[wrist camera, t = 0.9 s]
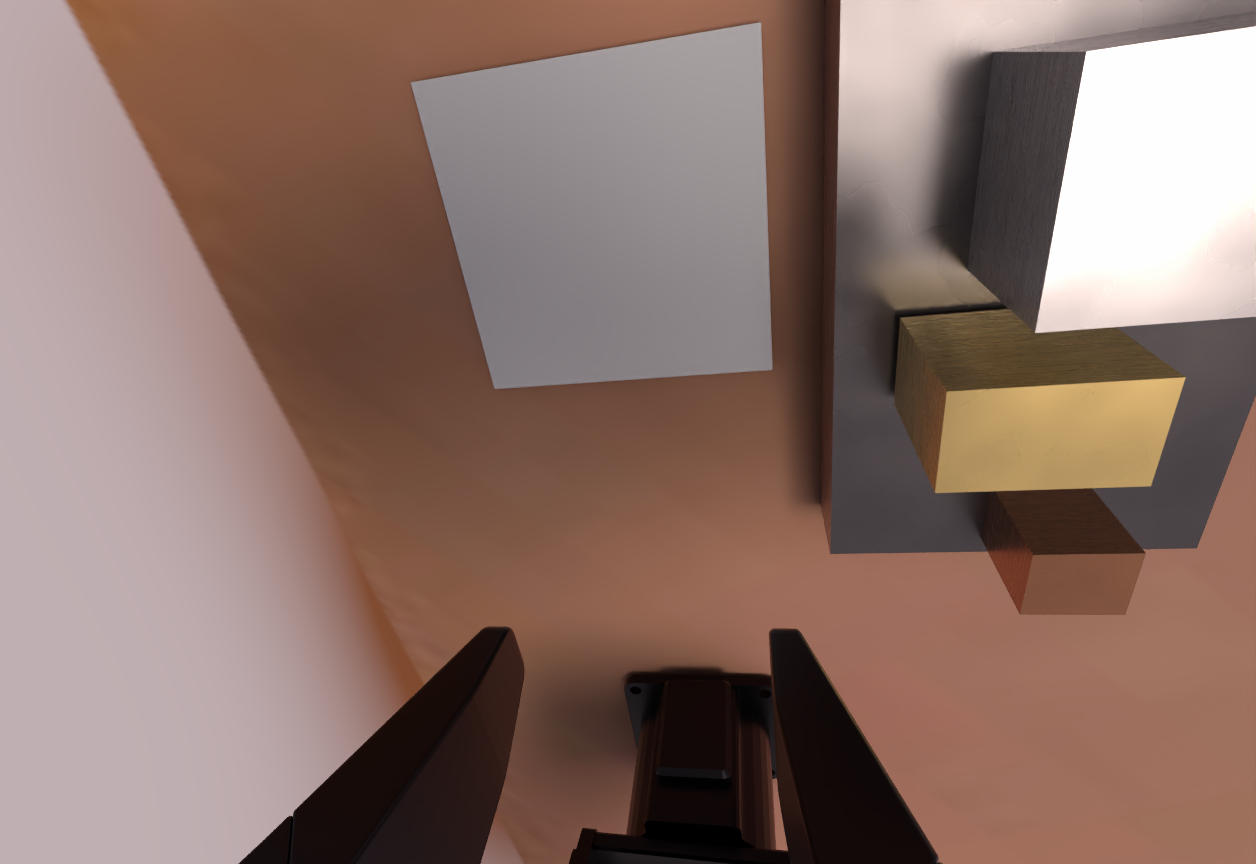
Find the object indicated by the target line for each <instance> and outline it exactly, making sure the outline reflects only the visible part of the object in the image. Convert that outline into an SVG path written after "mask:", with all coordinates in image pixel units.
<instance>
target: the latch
mask: <svg viewBox="0 0 1256 864" xmlns="http://www.w3.org/2000/svg"><path fill="white" fill-rule="evenodd" d="M1185 378H1186V377H1185V376H1183V375H1182V374H1180V373H1179V372H1178V371H1176V370H1175V369H1173V368H1172V367H1171V366H1169V365H1168V364H1166V363H1165V362H1164V361H1162V360H1161V359H1160V358H1158V357H1157V356H1155V355H1154V354H1153V353H1151V352H1150V351H1148V350H1147V349H1146V348H1144V347H1143V346H1141V345H1140V344H1139V343H1137V342H1136V341H1134V340H1133V339H1132V338H1130V337H1129V336H1127V335H1126V334H1125V333H1123V332H1122V331H1121V330H1119V329H1118V328H1116V327H1110V328H1097V329H1083V330H1070V331H1056V332H1043V333H1034V332H1033V331H1032V330H1031V329H1030V328H1029V327H1028V326H1027V325H1026V324H1025V323H1024V322H1023V321H1022V320H1020V319H1019V318H1018V317H1017V316H1016V315H1015V314H1014V313H1013V312H1012V311H1011V310H1010V309H1000V310H988V311H976V312H963V313H951V314H939V315H927V316H914V317H902V318H900V326H899V340H898V354H897V368H896V382H895V396H894V405H895V407H896V409H897V412H898V414H899V416H900V418H901V420H902V422H903V425H904V427H905V429H906V431H907V433H908V435H909V438H910V440H911V442H912V444H913V446H914V449H915V451H916V453H917V455H918V457H919V459H920V462H921V464H922V466H923V468H924V470H925V472H926V475H927V477H928V479H929V481H930V483H931V486H932V488H933V490H934V492H935V493H955V492H987V491H1018V490H1050V489H1081V488H1113V487H1145V486H1151V485H1152V481H1153V478H1154V475H1155V472H1156V469H1157V466H1158V463H1159V459H1160V456H1161V453H1162V450H1163V447H1164V444H1165V441H1166V438H1167V434H1168V431H1169V428H1170V425H1171V422H1172V419H1173V416H1174V412H1175V409H1176V406H1177V403H1178V400H1179V397H1180V394H1181V391H1182V387H1183V384H1184V381H1185Z"/></svg>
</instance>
